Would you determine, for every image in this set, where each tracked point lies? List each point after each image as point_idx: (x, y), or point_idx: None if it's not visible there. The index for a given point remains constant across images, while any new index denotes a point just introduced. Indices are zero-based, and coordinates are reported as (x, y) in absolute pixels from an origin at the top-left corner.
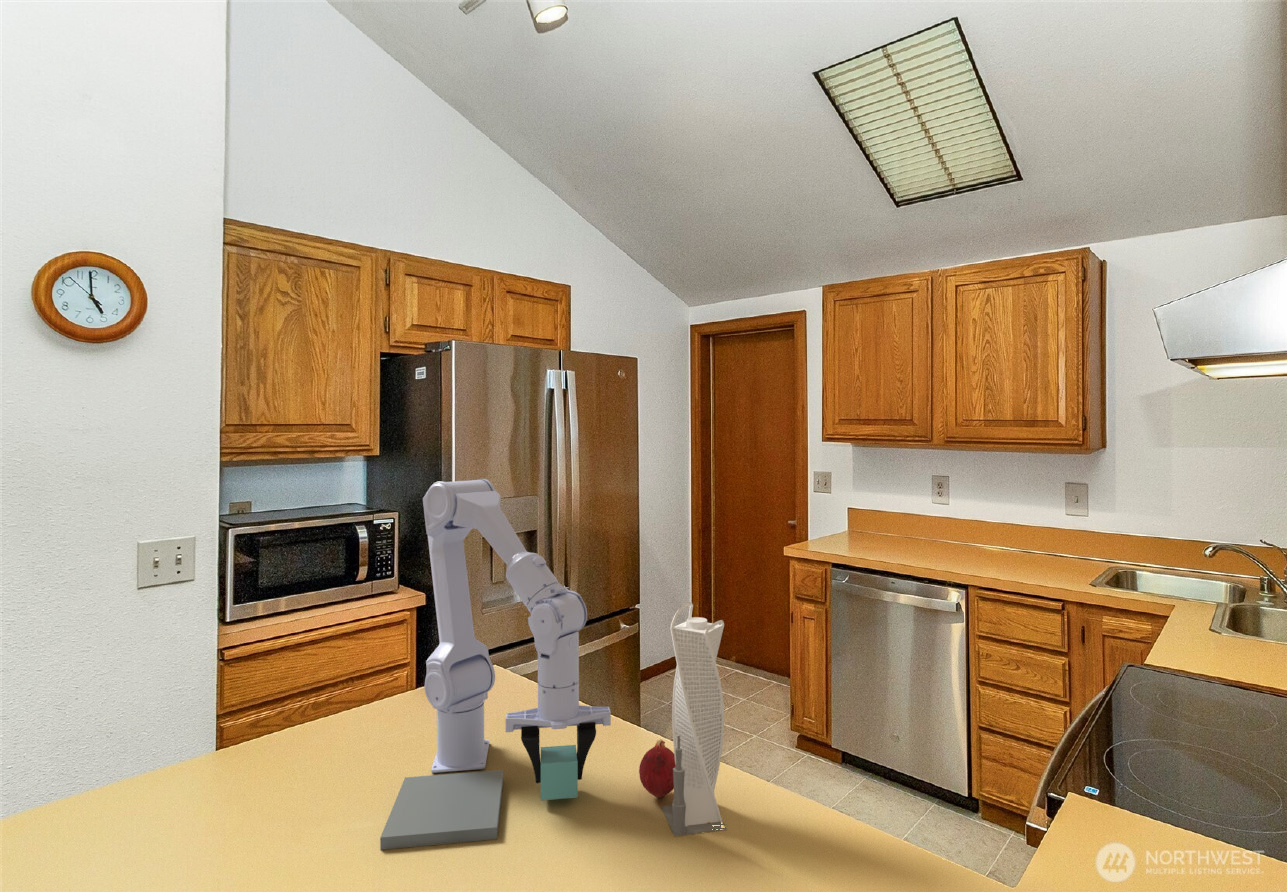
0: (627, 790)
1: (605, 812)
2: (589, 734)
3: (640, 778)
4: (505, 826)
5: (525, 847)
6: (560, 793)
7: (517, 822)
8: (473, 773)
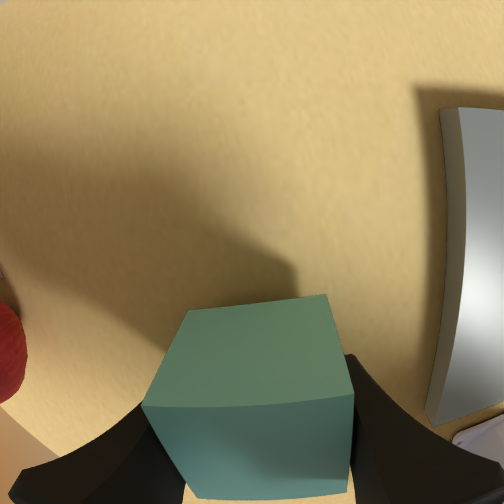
0: (84, 358)
1: (105, 258)
2: (20, 495)
3: (7, 337)
4: (425, 180)
5: (339, 53)
6: (248, 313)
7: (392, 202)
8: (495, 400)
